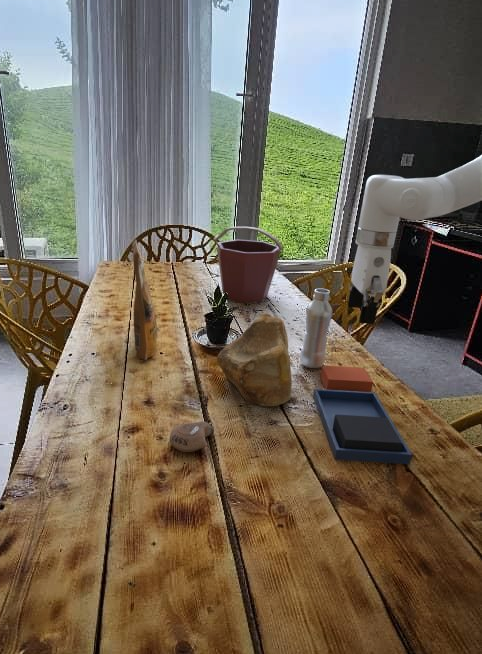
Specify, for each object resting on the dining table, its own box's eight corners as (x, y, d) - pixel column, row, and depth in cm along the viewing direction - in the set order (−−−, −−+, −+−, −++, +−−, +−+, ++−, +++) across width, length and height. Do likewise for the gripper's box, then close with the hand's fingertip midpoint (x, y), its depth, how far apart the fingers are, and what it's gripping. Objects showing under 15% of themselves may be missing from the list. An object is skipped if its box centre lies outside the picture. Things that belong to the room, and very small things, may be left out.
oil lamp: (219, 459, 80) (210, 432, 87) (223, 440, 78) (214, 415, 85) (170, 457, 78) (165, 430, 85) (173, 438, 76) (168, 412, 83)
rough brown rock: (219, 362, 115) (217, 308, 109) (284, 362, 113) (286, 307, 107) (214, 415, 94) (211, 352, 88) (293, 416, 92) (296, 351, 86)
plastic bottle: (299, 369, 111) (309, 293, 104) (298, 358, 117) (307, 285, 110) (325, 372, 110) (337, 296, 103) (323, 360, 116) (334, 287, 109)
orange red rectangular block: (361, 380, 107) (364, 367, 106) (370, 395, 101) (373, 381, 99) (320, 377, 108) (322, 365, 106) (326, 392, 101) (328, 379, 100)
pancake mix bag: (127, 363, 111) (124, 252, 100) (135, 333, 128) (133, 236, 118) (154, 363, 111) (154, 253, 101) (158, 333, 129) (158, 237, 118)
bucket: (200, 295, 163) (203, 226, 154) (231, 282, 180) (236, 219, 171) (259, 310, 150) (266, 236, 141) (287, 295, 167) (295, 228, 158)
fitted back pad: (383, 432, 87) (387, 417, 85) (398, 459, 79) (402, 443, 78) (332, 429, 87) (335, 414, 86) (342, 455, 80) (345, 439, 78)
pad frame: (372, 402, 98) (374, 392, 97) (409, 466, 78) (412, 454, 78) (312, 398, 99) (314, 388, 98) (334, 461, 79) (336, 449, 78)
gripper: (409, 248, 84) (390, 331, 90) (380, 231, 100) (365, 302, 106) (369, 246, 84) (353, 329, 90) (346, 229, 100) (334, 300, 106)
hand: (360, 314), depth 98 cm, fingers open, 9 cm apart
